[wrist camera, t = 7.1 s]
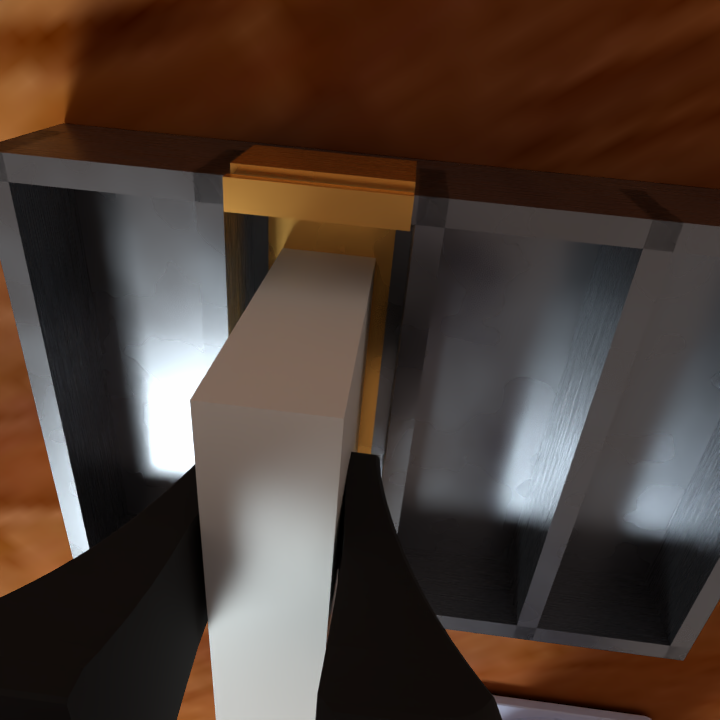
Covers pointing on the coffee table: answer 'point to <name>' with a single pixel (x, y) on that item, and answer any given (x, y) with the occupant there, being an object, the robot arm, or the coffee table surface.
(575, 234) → the rack
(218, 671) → the panel
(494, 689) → the coffee table surface
